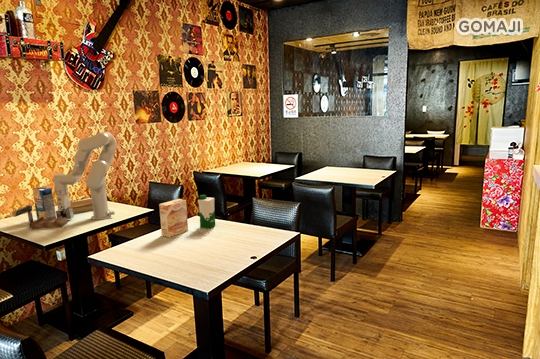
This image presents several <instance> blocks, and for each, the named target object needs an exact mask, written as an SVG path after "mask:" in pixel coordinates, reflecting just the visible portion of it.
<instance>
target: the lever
mask: <svg viewBox="0 0 540 359" xmlns="http://www.w3.org/2000/svg"><path fill="white" fill-rule="evenodd" d="M31 210H32V211H33V207H32V204H27V205H25V206H23V207H20V208H18V209H16V210H13V211H11V215H12V217H13V218H14V217H16V218H17V217H19V216H20V215H23V214H25V213H28V211H31Z"/></svg>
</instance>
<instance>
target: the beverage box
mask: <svg viewBox="0 0 540 359" xmlns="http://www.w3.org/2000/svg"><path fill="white" fill-rule="evenodd" d="M32 195H33V200H34V201H33V202H34V207H35V214H36V220H37V219H39V218H41V217H43V219H48V218H57V216H56V208H55V207H56V206H55V200H54V193H53V188H52V187H47V186H40V187H35V188H32Z"/></svg>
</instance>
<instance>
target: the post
mask: <svg viewBox="0 0 540 359" xmlns="http://www.w3.org/2000/svg"><path fill="white" fill-rule="evenodd" d="M27 217H28V224H29V226H28V228H29V229H32V227H31V223H32V222H34V218H33V217H34V215H33V209H32V210H31V211H28V212H27Z"/></svg>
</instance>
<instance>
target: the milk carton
mask: <svg viewBox="0 0 540 359" xmlns="http://www.w3.org/2000/svg"><path fill="white" fill-rule="evenodd" d="M197 202H198V209H199V210H198V211H199V226H200V229H212V228H213V227H215V226H216V215H215V214H216V213H215V211H216V210H215V197H207V195H206V194H200V195H199V199H198V200H197Z"/></svg>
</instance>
